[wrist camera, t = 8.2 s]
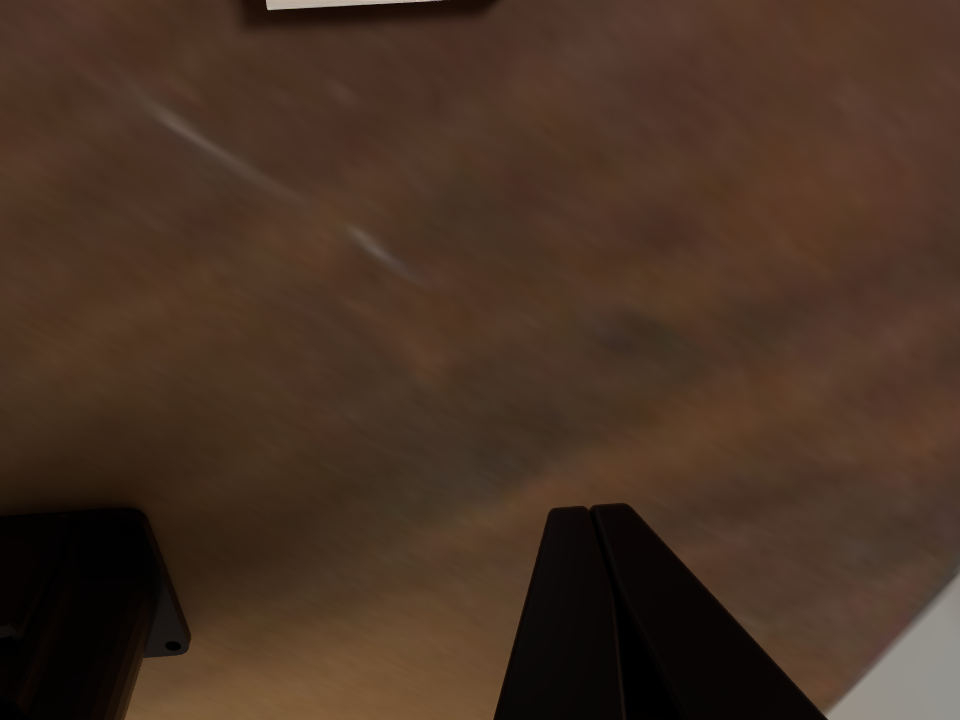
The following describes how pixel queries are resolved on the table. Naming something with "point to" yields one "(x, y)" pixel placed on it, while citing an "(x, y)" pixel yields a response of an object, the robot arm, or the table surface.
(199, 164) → the table surface
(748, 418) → the table surface
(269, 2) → the tray
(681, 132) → the table surface
